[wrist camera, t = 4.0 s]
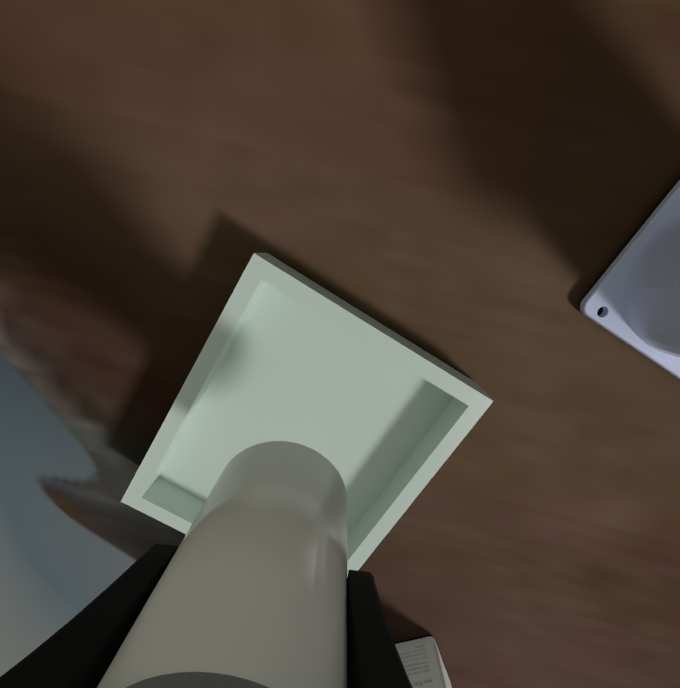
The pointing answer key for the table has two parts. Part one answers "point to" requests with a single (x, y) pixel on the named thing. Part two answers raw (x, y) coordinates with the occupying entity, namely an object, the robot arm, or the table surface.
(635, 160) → the table surface
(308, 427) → the tray
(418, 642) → the ink cartridge box
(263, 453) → the shaker
